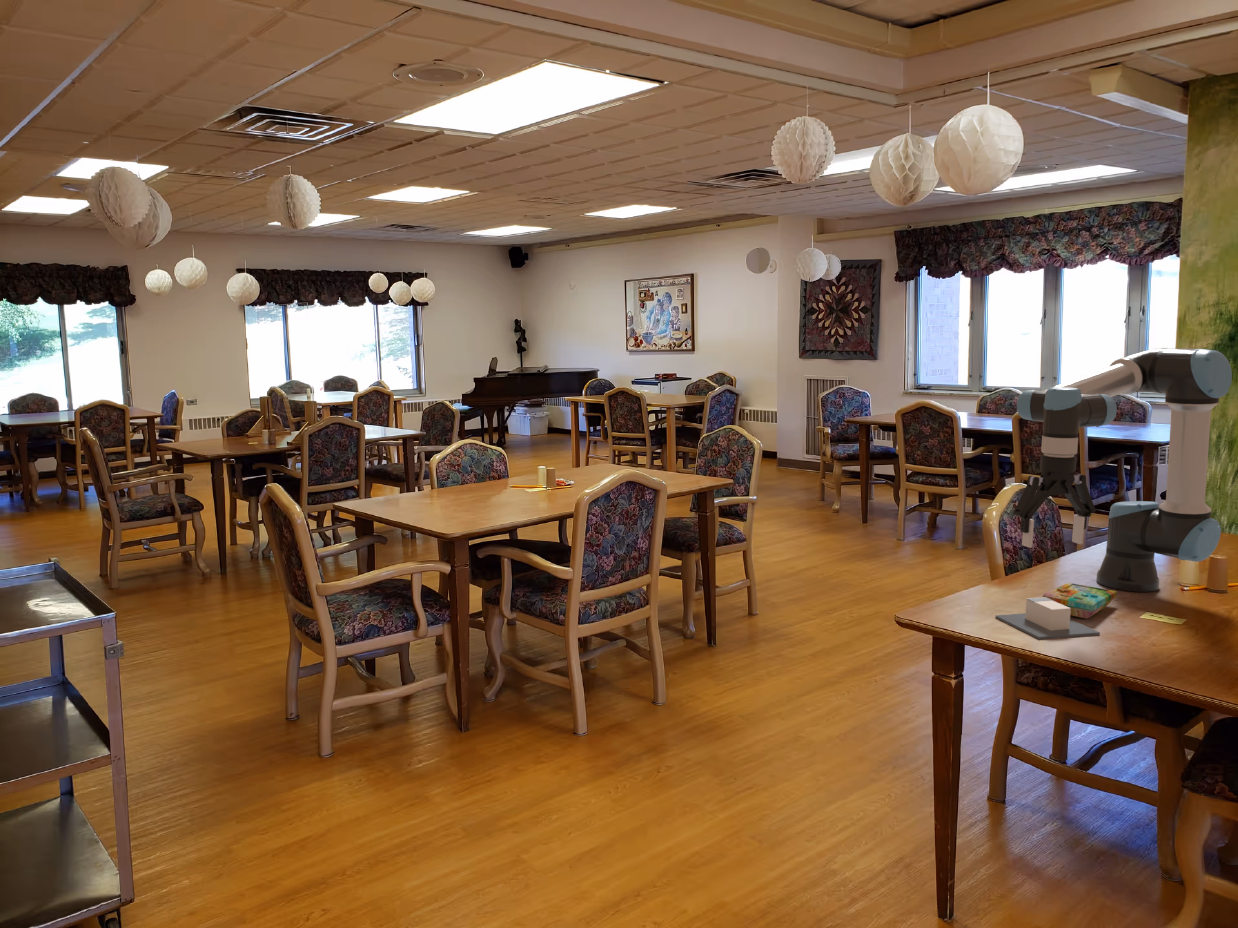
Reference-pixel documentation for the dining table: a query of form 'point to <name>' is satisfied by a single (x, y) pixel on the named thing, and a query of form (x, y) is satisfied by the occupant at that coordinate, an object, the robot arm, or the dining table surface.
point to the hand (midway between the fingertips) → (1052, 544)
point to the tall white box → (1047, 613)
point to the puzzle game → (1081, 598)
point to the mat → (1043, 633)
